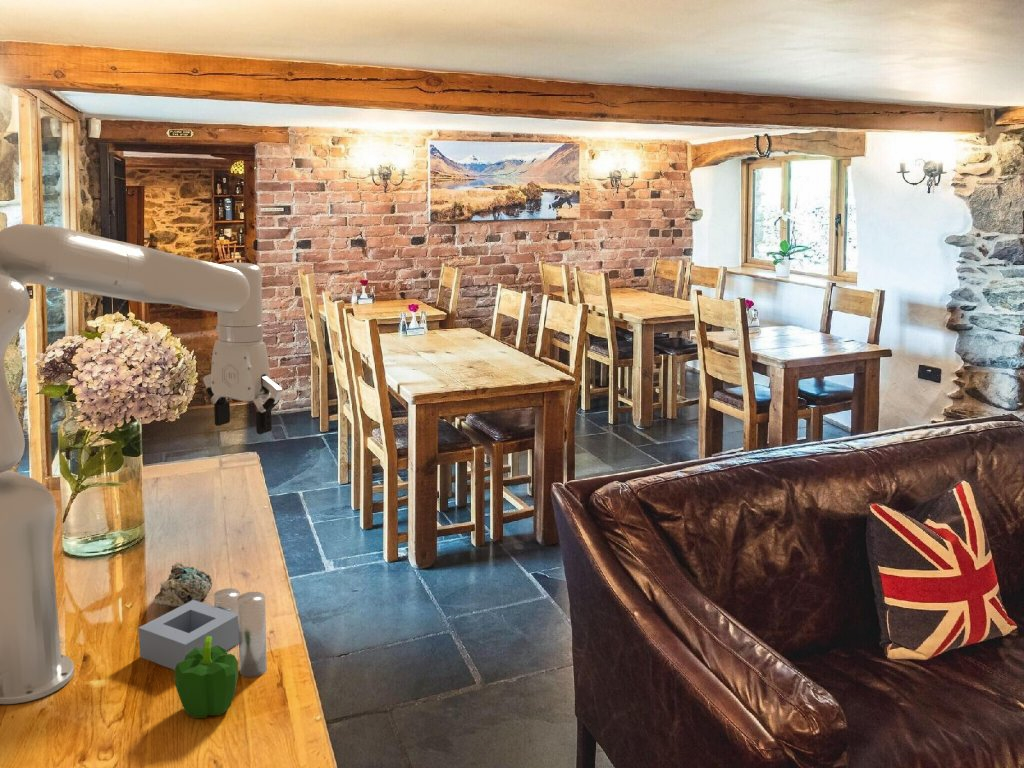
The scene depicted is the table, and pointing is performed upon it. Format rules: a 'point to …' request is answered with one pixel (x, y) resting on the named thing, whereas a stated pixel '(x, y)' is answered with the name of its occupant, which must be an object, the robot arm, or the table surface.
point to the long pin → (252, 634)
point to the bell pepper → (206, 680)
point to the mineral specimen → (183, 586)
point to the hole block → (187, 632)
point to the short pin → (227, 599)
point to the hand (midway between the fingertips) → (243, 428)
